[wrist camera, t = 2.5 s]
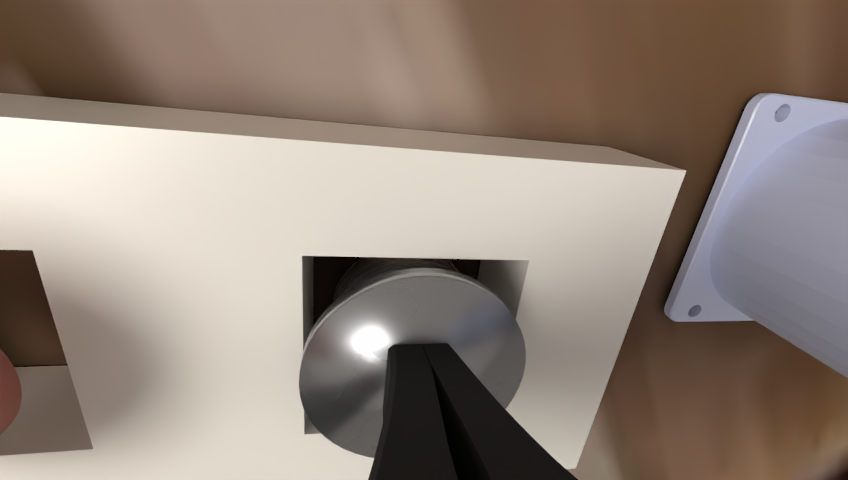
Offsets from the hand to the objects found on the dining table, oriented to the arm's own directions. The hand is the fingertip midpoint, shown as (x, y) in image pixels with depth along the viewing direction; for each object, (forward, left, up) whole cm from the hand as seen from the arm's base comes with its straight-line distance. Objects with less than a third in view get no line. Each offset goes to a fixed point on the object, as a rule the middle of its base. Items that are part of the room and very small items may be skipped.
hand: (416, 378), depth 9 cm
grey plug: (0, 0, -3) cm, 3 cm away
